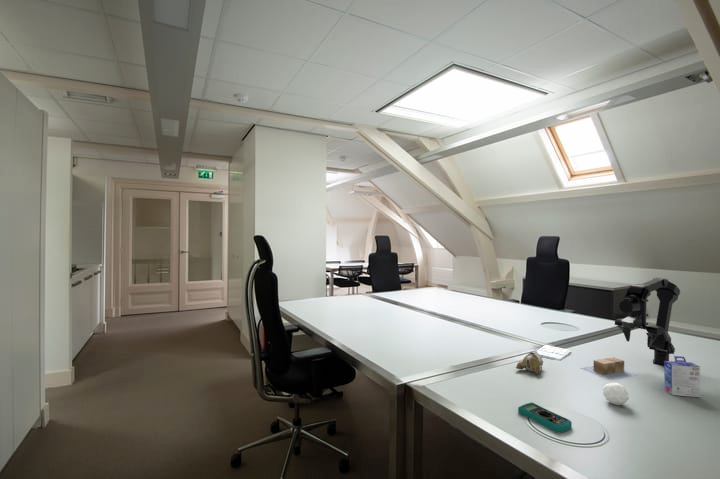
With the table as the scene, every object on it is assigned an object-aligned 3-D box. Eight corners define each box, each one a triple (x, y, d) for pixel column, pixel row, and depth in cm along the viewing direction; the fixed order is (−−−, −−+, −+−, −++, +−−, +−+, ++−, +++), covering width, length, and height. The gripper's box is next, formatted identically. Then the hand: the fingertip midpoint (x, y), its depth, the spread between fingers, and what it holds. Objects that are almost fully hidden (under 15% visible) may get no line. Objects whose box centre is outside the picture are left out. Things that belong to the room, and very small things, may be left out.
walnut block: (613, 357, 167) (593, 360, 162) (624, 360, 162) (604, 363, 158) (613, 367, 167) (593, 370, 162) (624, 371, 162) (604, 374, 158)
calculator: (571, 353, 190) (571, 349, 190) (560, 362, 176) (560, 358, 176) (545, 347, 200) (545, 344, 200) (532, 355, 186) (532, 352, 186)
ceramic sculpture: (548, 350, 165) (539, 360, 154) (548, 368, 166) (539, 379, 155) (524, 345, 172) (514, 354, 161) (524, 363, 173) (514, 373, 162)
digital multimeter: (559, 436, 110) (559, 426, 110) (516, 413, 123) (517, 405, 123) (573, 429, 113) (574, 420, 113) (531, 409, 127) (531, 400, 127)
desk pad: (607, 364, 172) (607, 364, 172) (637, 375, 158) (637, 374, 158) (580, 368, 166) (580, 368, 166) (609, 380, 153) (609, 379, 153)
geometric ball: (609, 408, 133) (603, 386, 138) (634, 406, 128) (627, 384, 133) (603, 403, 129) (597, 380, 134) (629, 401, 124) (621, 378, 129)
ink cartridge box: (691, 391, 142) (691, 356, 142) (701, 398, 136) (701, 361, 136) (662, 389, 144) (663, 354, 144) (672, 395, 138) (672, 359, 138)
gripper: (606, 308, 172) (606, 340, 172) (648, 316, 154) (648, 352, 154) (622, 307, 175) (622, 338, 176) (665, 315, 158) (665, 349, 158)
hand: (638, 344), depth 166 cm, fingers open, 9 cm apart
